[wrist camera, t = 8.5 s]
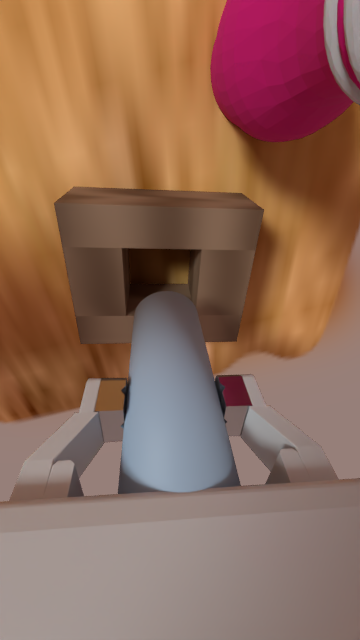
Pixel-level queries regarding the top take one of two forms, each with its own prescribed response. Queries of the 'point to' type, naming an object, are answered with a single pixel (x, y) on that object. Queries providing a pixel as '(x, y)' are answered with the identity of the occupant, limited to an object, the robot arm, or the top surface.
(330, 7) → the pepper mill
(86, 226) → the socket block
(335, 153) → the top surface
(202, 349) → the peg
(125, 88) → the top surface
